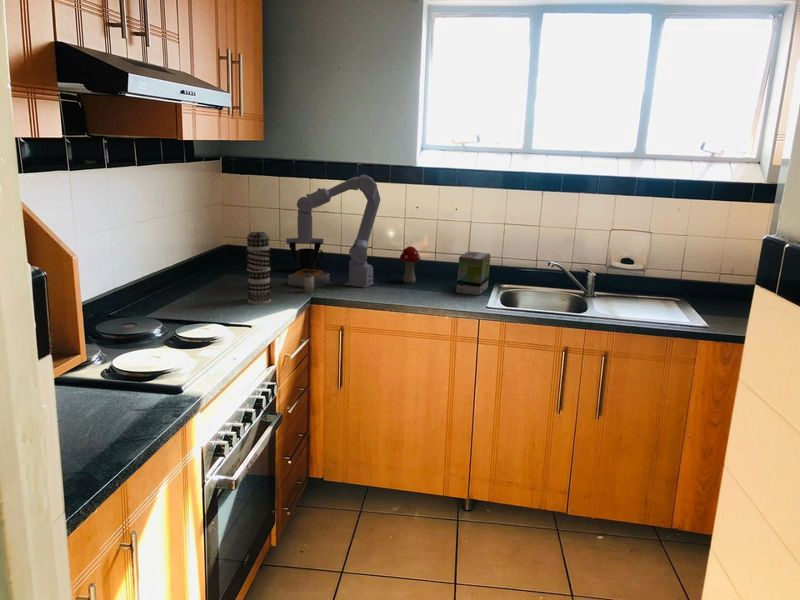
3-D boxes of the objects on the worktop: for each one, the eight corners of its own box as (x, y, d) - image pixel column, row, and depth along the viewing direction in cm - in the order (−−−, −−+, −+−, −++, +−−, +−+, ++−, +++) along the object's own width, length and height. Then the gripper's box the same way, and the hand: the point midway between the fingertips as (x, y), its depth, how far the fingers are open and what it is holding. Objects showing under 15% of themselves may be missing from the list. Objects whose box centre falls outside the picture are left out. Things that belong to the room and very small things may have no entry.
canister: (315, 291, 257) (315, 275, 255) (310, 293, 253) (310, 276, 252) (307, 290, 258) (307, 273, 256) (302, 292, 255) (302, 275, 253)
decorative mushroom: (397, 279, 282) (398, 244, 278) (417, 279, 283) (418, 244, 280) (401, 284, 273) (402, 248, 269) (421, 284, 274) (423, 248, 270)
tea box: (480, 295, 258) (483, 258, 255) (455, 293, 262) (457, 256, 258) (488, 287, 272) (490, 252, 268) (464, 285, 275) (466, 250, 272)
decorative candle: (256, 305, 234) (254, 235, 228) (241, 300, 240) (239, 232, 234) (277, 301, 240) (276, 233, 234) (262, 296, 247) (261, 230, 240)
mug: (327, 271, 293) (327, 250, 291) (303, 273, 286) (303, 252, 284) (317, 267, 299) (317, 247, 297) (294, 270, 292) (294, 249, 290)
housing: (329, 283, 271) (329, 270, 270) (313, 288, 260) (313, 276, 259) (304, 279, 276) (304, 267, 274) (288, 285, 265) (288, 272, 264)
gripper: (323, 226, 265) (323, 259, 268) (286, 226, 263) (287, 259, 267) (323, 229, 258) (323, 263, 262) (285, 228, 256) (286, 263, 260)
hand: (305, 261), depth 264 cm, fingers open, 7 cm apart
